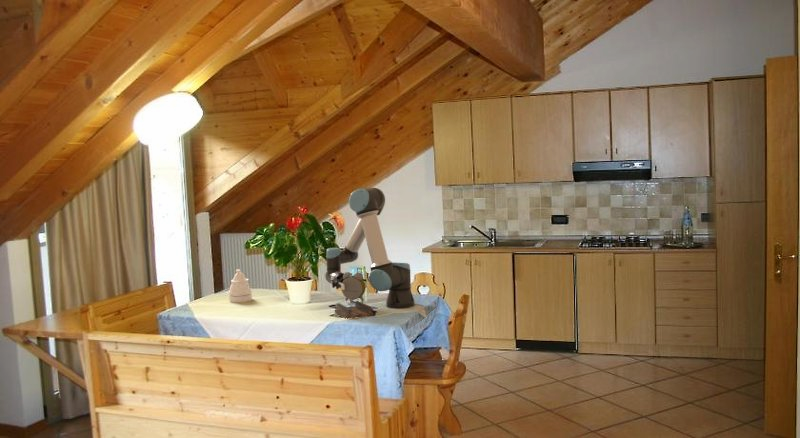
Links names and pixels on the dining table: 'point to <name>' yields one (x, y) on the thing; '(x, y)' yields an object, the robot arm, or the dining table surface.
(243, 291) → the honey pot
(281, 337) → the dining table surface
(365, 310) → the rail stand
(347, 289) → the alarm clock
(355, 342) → the dining table surface
